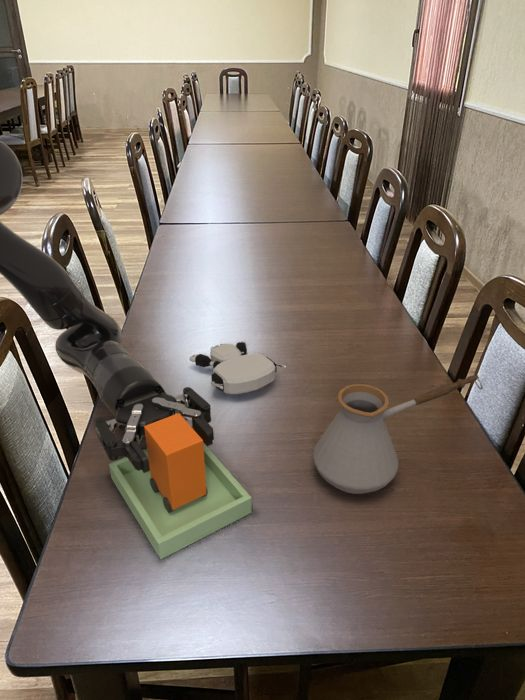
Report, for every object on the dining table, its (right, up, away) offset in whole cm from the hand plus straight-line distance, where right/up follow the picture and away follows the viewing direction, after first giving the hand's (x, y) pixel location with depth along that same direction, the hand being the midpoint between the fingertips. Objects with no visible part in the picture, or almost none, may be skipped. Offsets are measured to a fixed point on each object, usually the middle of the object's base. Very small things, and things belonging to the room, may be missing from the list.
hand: (179, 453), depth 65 cm
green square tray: (-1, -7, +5) cm, 9 cm away
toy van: (-1, -6, +5) cm, 8 cm away
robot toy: (+5, +7, +29) cm, 31 cm away
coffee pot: (+27, -4, +10) cm, 30 cm away
